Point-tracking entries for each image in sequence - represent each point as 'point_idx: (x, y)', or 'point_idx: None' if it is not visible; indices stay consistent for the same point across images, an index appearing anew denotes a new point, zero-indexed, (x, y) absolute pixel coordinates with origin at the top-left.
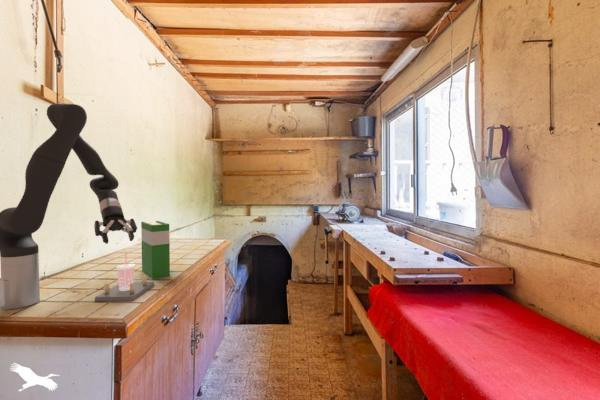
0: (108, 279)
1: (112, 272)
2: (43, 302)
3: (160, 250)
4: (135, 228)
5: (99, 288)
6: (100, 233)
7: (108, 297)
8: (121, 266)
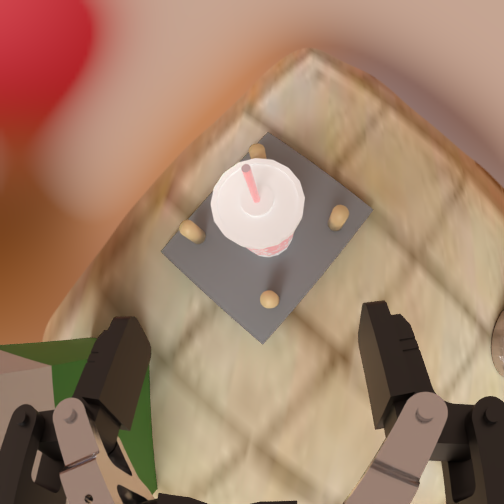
0: (287, 467)
1: None
2: (484, 316)
3: (41, 353)
4: (27, 413)
5: (340, 367)
6: (454, 405)
7: (334, 180)
8: (279, 203)
